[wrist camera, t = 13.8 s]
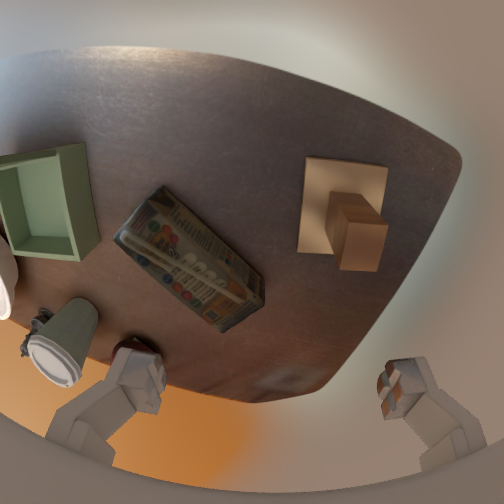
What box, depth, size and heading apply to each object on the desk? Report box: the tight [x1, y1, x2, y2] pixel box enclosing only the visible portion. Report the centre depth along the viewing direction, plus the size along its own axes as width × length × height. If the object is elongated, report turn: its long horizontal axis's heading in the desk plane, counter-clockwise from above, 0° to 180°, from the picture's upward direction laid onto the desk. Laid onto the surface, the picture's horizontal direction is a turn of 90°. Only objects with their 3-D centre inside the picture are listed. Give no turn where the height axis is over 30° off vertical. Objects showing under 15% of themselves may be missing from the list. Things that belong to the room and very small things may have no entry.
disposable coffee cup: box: [27, 297, 99, 388], centre depth 39 cm, size 11×11×15 cm
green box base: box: [0, 142, 100, 262], centre depth 32 cm, size 15×16×6 cm
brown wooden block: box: [325, 191, 388, 271], centre depth 29 cm, size 5×4×9 cm
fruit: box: [111, 336, 155, 365], centre depth 45 cm, size 9×10×10 cm
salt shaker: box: [20, 309, 53, 357], centre depth 43 cm, size 6×6×12 cm
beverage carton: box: [113, 186, 265, 333], centre depth 35 cm, size 8×19×7 cm, turn 43°
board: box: [297, 157, 388, 254], centre depth 33 cm, size 12×10×1 cm
